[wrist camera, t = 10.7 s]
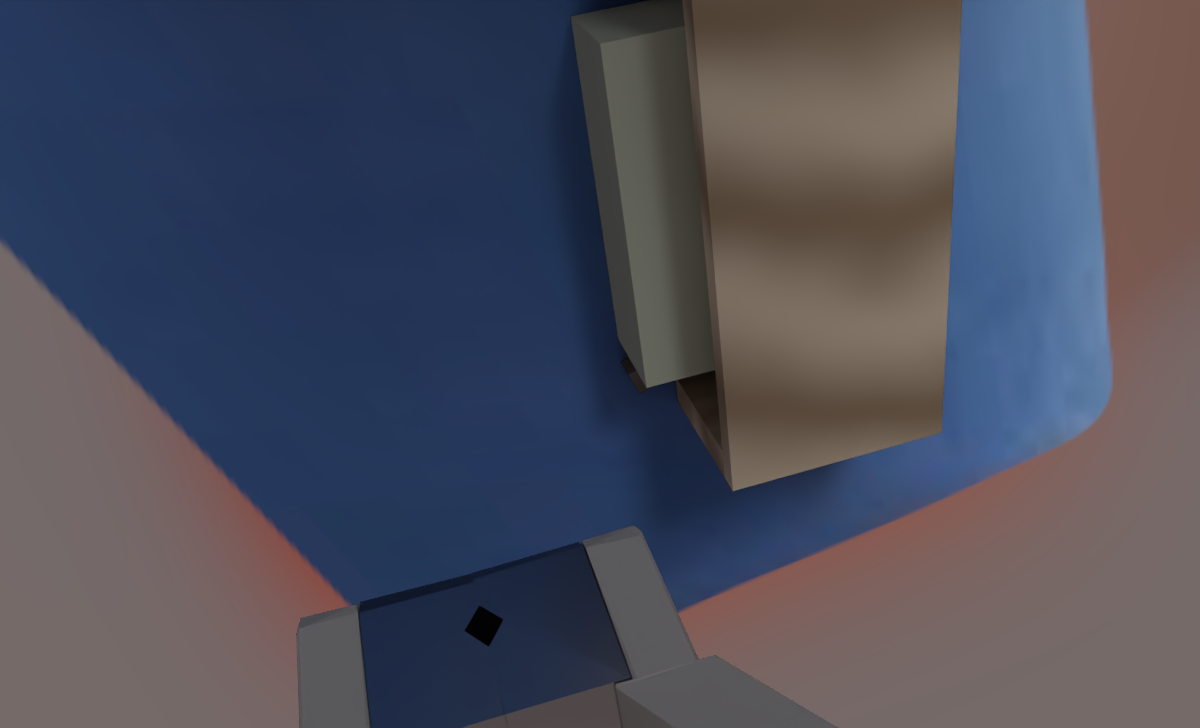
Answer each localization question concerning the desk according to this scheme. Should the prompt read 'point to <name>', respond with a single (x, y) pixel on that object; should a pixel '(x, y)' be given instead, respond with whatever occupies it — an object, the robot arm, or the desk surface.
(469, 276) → the desk surface
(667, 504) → the desk surface
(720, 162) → the low shelf
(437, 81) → the desk surface
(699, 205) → the case
